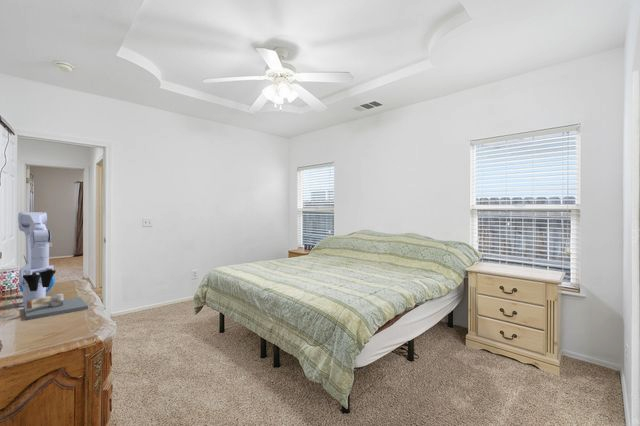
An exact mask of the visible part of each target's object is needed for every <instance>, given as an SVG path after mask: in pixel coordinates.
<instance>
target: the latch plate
mask: <svg viewBox="0 0 640 426" xmlns="http://www.w3.org/2000/svg"><path fill="white" fill-rule="evenodd" d="M88 309H89V305H88V304H87V303H86V302H85V300H84V299H83V298H82V297H81V296H77V297H71V298H63V305H60V306H54V307H49V304H48V305H43V306H39V307H35V308H31V309H27V305H24V306H23V310H24V311H23V312H24V315H25V320H26V321H28V320H33V319H34V320H35V319H40V318H45V317H50V316H51V317H52V316H57V315H61V314H62V315H63V314H68V313H69V314H70V313H73V312H80V311H85V310H88Z"/></svg>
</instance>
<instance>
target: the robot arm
mask: <svg viewBox="0 0 640 426" xmlns="http://www.w3.org/2000/svg"><path fill="white" fill-rule="evenodd" d="M17 216H18V217H17V218H18V219H17V221H18V222H17V223H18V229H19V231H21V232H23V233H24V236H25V242H26V243H25V244H26V245H25V247H26V248H25V249H26V261H27V263H26V265H24V266H23V267H20V269H19V270H18V271H19V272H18V286H19V285H21V286H23V292H22V303H21V304H19V305H18V307H24V305H27V301H30V300H34V299H39V298H43V297H47V296H46V295H47V293H46V287H49V286H50V282H51V279H52V277H53V275H55V273H56V269H55V270H54V268H55V267H54V266H55V265H52V264H51V265H50V243H51V240H52V232H51V230H50V229H47V226H46V225H47V222H48V214H47V212H45V211H43V212H40V211H39V212H38V211H37V212H36V211H35V212H34V211H33V212H31V211H30V212H29V211H27V212H25V211H20V212H18V215H17Z"/></svg>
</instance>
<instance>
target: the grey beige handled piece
mask: <svg viewBox="0 0 640 426" xmlns="http://www.w3.org/2000/svg"><path fill="white" fill-rule="evenodd" d="M63 299H64V293H54V294H50V295H48V296H46V297H43V298H39V299H34V300H30V301H27V309H31V308H35V307H39V306H43V305H48V304H49V307H54V306H60V305H63Z"/></svg>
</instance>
